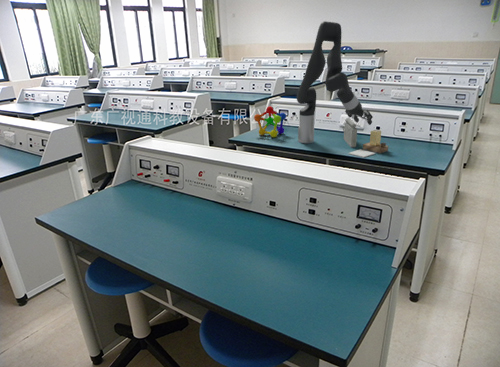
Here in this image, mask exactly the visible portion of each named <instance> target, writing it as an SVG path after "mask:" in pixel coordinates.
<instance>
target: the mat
mask: <svg viewBox="0 0 500 367" xmlns="http://www.w3.org/2000/svg"><path fill="white" fill-rule="evenodd" d="M348 154H349V155H352V156H355V157H359V158H363V159H364V158H367V157H371V156H373V155H376V153H375V152H371V151H367V150H363V149H361V148H360V149H356V150H354V151H350V152H348Z"/></svg>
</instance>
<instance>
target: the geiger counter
mask: <svg viewBox="0 0 500 367" xmlns="http://www.w3.org/2000/svg"><path fill="white" fill-rule="evenodd" d="M351 119H352V118H351V117H346V118H345V119H344V121H345V122H344V125H342V129H343V130H342V132H343V140H344V141H345V143H346V144H347V145H348V147H350V148H356V147H357V138H358V129H357V124H356V122H354V121H353V120H351Z"/></svg>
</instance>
